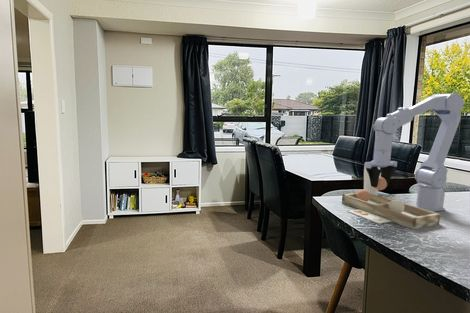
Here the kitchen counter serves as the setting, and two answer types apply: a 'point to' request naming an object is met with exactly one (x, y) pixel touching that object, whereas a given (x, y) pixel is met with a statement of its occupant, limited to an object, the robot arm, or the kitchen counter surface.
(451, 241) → the kitchen counter surface
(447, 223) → the kitchen counter surface
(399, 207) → the cream ball
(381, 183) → the terracotta ball
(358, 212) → the card
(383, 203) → the two-well rack
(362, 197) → the ball
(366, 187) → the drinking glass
